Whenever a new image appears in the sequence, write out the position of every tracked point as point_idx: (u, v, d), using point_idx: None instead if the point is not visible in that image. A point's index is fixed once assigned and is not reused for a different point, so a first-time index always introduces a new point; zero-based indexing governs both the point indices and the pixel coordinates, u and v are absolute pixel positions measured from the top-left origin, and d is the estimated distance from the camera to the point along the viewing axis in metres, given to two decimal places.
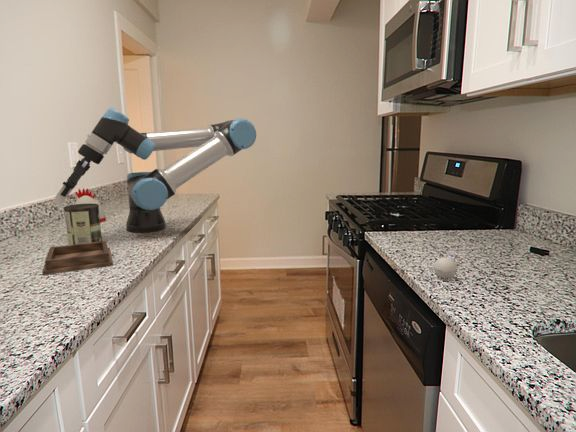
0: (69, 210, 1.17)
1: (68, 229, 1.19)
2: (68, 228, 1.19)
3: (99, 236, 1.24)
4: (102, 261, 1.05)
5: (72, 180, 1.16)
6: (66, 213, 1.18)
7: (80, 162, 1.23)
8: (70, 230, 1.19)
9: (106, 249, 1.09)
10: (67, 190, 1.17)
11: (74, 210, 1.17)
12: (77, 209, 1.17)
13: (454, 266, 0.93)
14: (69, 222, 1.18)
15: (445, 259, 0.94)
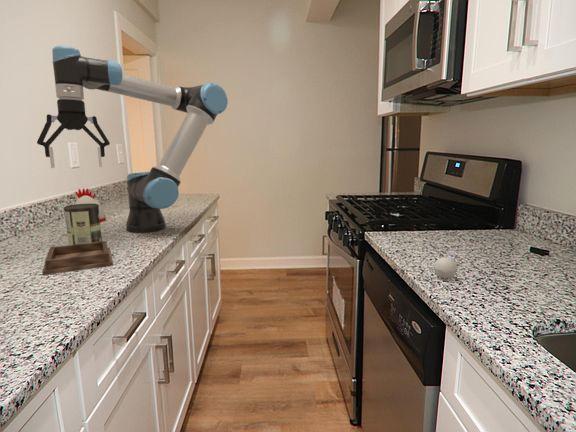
0: (69, 210, 1.17)
1: (68, 229, 1.19)
2: (68, 228, 1.19)
3: (99, 236, 1.24)
4: (102, 261, 1.05)
5: (107, 139, 1.22)
6: (66, 213, 1.18)
7: (79, 120, 1.17)
8: (70, 230, 1.19)
9: (106, 249, 1.09)
10: None
11: (74, 210, 1.17)
12: (77, 209, 1.17)
13: (454, 266, 0.93)
14: (69, 222, 1.18)
15: (445, 259, 0.94)
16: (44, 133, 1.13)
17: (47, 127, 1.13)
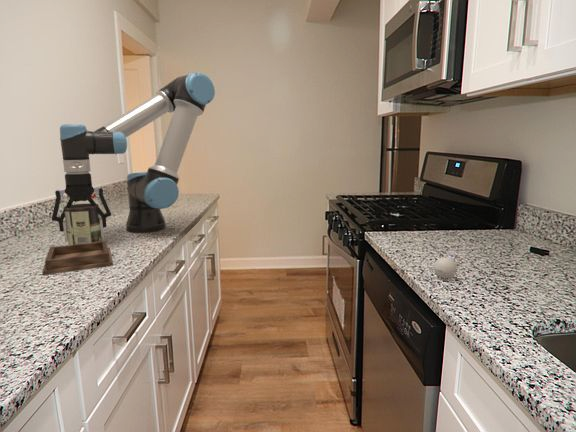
0: (69, 210, 1.17)
1: (68, 229, 1.19)
2: (68, 228, 1.19)
3: (99, 236, 1.24)
4: (102, 261, 1.05)
5: (109, 210, 1.26)
6: (65, 213, 1.18)
7: (86, 192, 1.21)
8: (70, 230, 1.19)
9: (106, 249, 1.09)
10: (105, 220, 1.26)
11: (74, 210, 1.17)
12: (77, 209, 1.17)
13: (454, 266, 0.93)
14: (69, 222, 1.18)
15: (445, 259, 0.94)
16: (56, 209, 1.18)
17: (58, 203, 1.18)
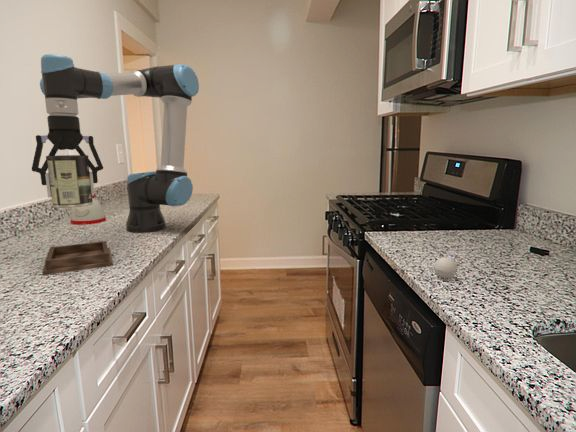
0: (52, 158, 0.98)
1: (51, 182, 1.00)
2: (51, 181, 1.00)
3: (89, 192, 1.05)
4: (102, 261, 1.05)
5: None
6: (48, 162, 0.99)
7: (73, 139, 1.02)
8: (53, 183, 1.00)
9: (106, 249, 1.09)
10: (96, 175, 1.07)
11: (58, 158, 0.98)
12: (62, 157, 0.98)
13: (454, 266, 0.93)
14: (53, 173, 0.99)
15: (445, 259, 0.94)
16: (37, 157, 0.99)
17: (39, 150, 0.99)
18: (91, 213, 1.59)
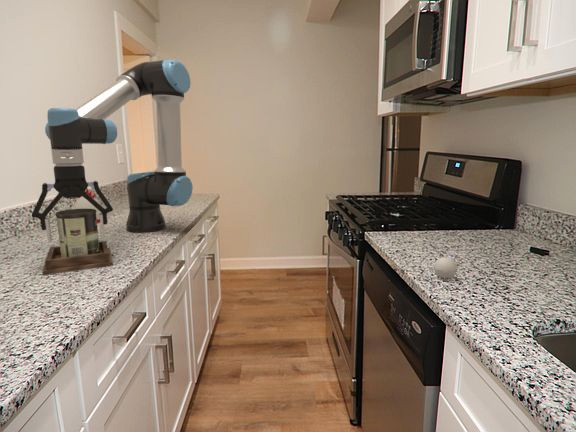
0: (62, 216, 1.01)
1: (61, 238, 1.03)
2: (61, 237, 1.03)
3: (96, 246, 1.08)
4: (102, 261, 1.05)
5: None
6: (58, 220, 1.03)
7: (79, 186, 1.04)
8: (63, 240, 1.03)
9: (106, 249, 1.09)
10: (106, 216, 1.10)
11: (68, 216, 1.01)
12: (71, 215, 1.01)
13: (454, 266, 0.93)
14: (62, 230, 1.02)
15: (445, 259, 0.94)
16: (39, 204, 1.01)
17: (43, 198, 1.01)
18: None
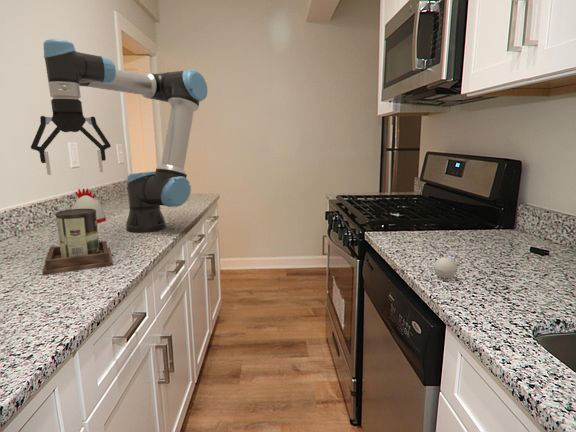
0: (62, 217, 1.01)
1: (61, 238, 1.03)
2: (61, 237, 1.03)
3: (96, 246, 1.08)
4: (102, 261, 1.05)
5: (107, 141, 1.12)
6: (58, 220, 1.02)
7: (76, 121, 1.06)
8: (63, 240, 1.03)
9: (106, 249, 1.09)
10: (104, 153, 1.13)
11: (67, 217, 1.01)
12: (71, 215, 1.01)
13: (454, 266, 0.93)
14: (62, 230, 1.02)
15: (445, 259, 0.94)
16: (38, 137, 1.02)
17: (41, 130, 1.02)
18: None
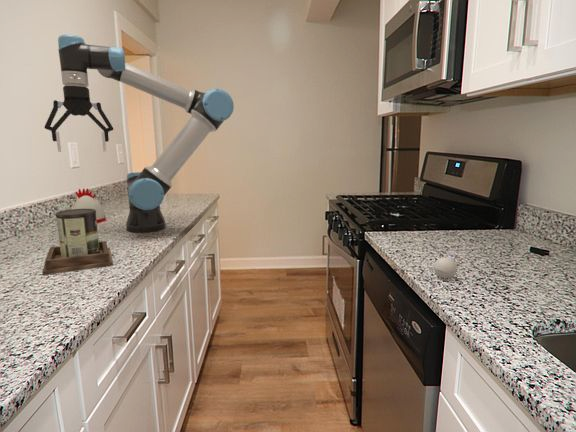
0: (62, 217, 1.01)
1: (60, 238, 1.03)
2: (60, 237, 1.03)
3: (96, 246, 1.08)
4: (102, 261, 1.05)
5: (110, 124, 1.28)
6: (58, 220, 1.03)
7: (84, 106, 1.22)
8: (63, 240, 1.03)
9: (106, 249, 1.09)
10: (107, 135, 1.28)
11: (67, 217, 1.01)
12: (71, 215, 1.01)
13: (454, 266, 0.93)
14: (62, 230, 1.02)
15: (445, 259, 0.94)
16: (51, 118, 1.19)
17: (54, 112, 1.19)
18: None
